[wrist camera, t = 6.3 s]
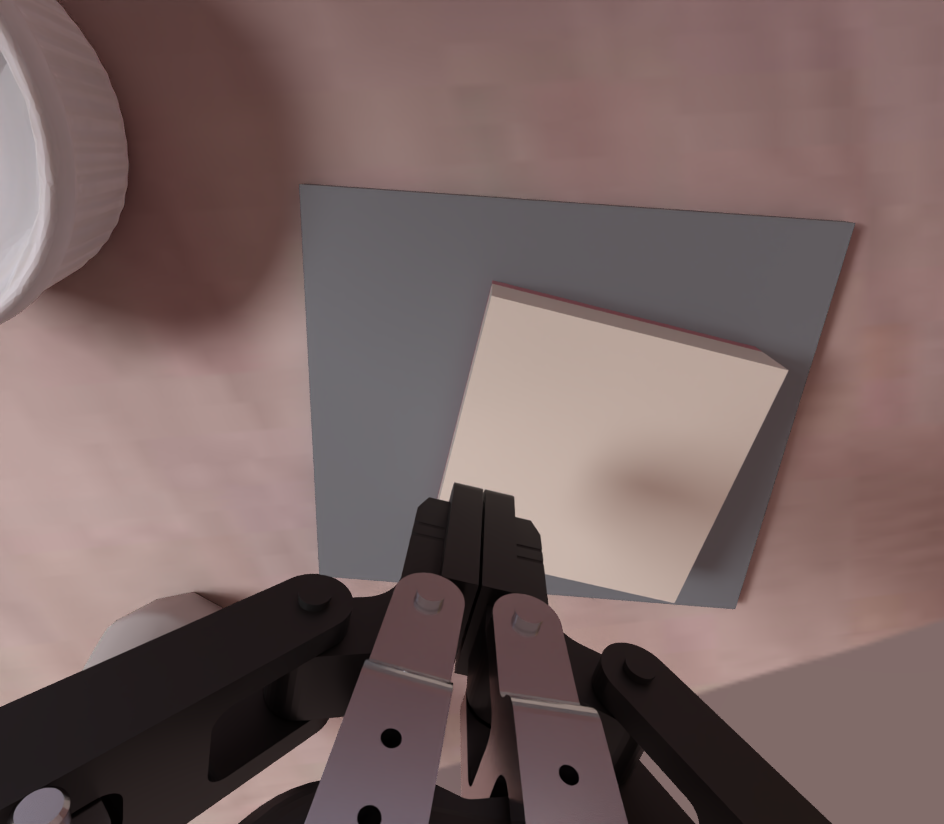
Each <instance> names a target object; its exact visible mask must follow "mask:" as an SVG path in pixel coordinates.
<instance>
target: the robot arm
mask: <svg viewBox="0 0 944 824" xmlns="http://www.w3.org/2000/svg"><path fill="white" fill-rule="evenodd" d="M455 660H456V664H455V673H457V674H462V675H467V689H466V692H465V695H464V698H463V701H462V704H461V709H460V732H461V797H460V796H458V795H456V794H454V793H452V792H450V791H448V790H446V789H444V788H442V787H440V786H438V785H436V779H437V774H438V768H439V763H440V757H441V751H442V746H443V740H444V735H445V729H446V724H447V718H448V712H449V707H450V701H451V696H452V689H453V683H451V677H452V672H453V666H454V663H455ZM334 717H344V718H343V721H342V724H341V726H340V729H339V732H338V734H337V737H336V740H335V742H334V745H333V748H332V751H331V753H330V756H329V759H328V761H327V764H326V767H325V769H324V772H323V775H322V777H321V780H320V781H316V782H311V783H308V784H305V785H302V786H299V787H296V788H293V789H291V790H288V791H286V792H284V793H282V794H280V795H278V796H276V797H274V798H273V799H271V800H270V801H268V802H266V803H265V804H263V805H261V806H260V807H259V808H257V809H256V810H255V811H253V812H252V813H251V814H250V815H248V816H247V817H246V818H245V819H243V820H242V821H241V822H240V823H238V824H695V823H694V822H693V821H692V820H691V818H690V817H689V816H688V815H687V814H686V813H685V812H684V810H683V809H682V808H681V807H680V806H679V805H678V804H677V802H676V801H675V800H674V799H673V798H672V797H671V796H670V795H669V793H668V792H667V791H666V790H665V789H664V788H663V787H662V785H661V784H660V783H659V782H658V781H657V780H656V779H655V777H654V776H653V775H652V774H651V773H650V772H649V771H648V769H647V768H646V767H645V766H644V765H643V764H642V763H641V762H640V760H639V759H640V757H641V756H642V754H643V752H644V751H645V752H646V753H647V754H648V755H649V756H650V757H651V759H652V760H653V761H654V762H655V763H656V764H657V765H658V766H659V767H660V768H661V770H662V771H663V772H664V773H665V774H666V775H667V776H668V777H669V779H671V781H672V782H673V783H674V784H675V785H676V786H677V788H678V789H679V790H680V791H681V792H682V793H683V794H684V795H685V796H686V797H687V799H688V800H689V801H690V802H691V804H692V805H693V807H694V809H695V811H696V813H697V816H698V819H699V824H832V823H831V822H830V821H828V820H827V819H826V818H825V817H824V816H823V815H822V814H821V813H820V812H819V811H818V810H817V809H816V808H815V807H814V806H813V805H812V804H811V803H810V802H809V801H808V800H806V799H805V798H804V797H803V796H802V795H801V794H800V793H799V792H798V791H797V790H796V789H795V788H794V787H793V786H792V785H791V784H789V782H788V781H787V780H785V779H784V778H783V777H782V776H781V775H780V774H779V773H778V772H777V771H776V770H775V769H774V768H773V767H772V766H771V765H770V764H769V763H768V762H767V761H765V760H764V759H763V758H762V757H761V756H760V755H759V754H758V753H757V752H756V751H755V750H754V749H753V748H752V747H751V746H750V745H749V744H748V743H747V742H745V741H744V740H743V739H742V738H741V737H740V736H739V735H738V734H737V733H736V732H735V731H734V730H733V729H732V728H731V727H730V726H728V725H727V724H726V723H725V722H724V721H723V720H722V719H721V718H720V717H719V716H718V715H717V714H716V713H715V712H714V711H713V710H712V709H711V708H710V707H709V706H708V705H707V704H705V703H704V702H703V701H702V700H701V699H700V698H699V697H698V696H697V695H696V694H695V693H694V692H693V691H692V690H691V689H690V688H689V687H688V686H687V685H686V684H684V683H683V682H682V681H681V680H680V679H679V678H678V677H677V676H676V675H675V674H674V673H673V672H672V671H671V670H670V669H669V668H668V667H667V666H666V665H664V664H663V663H662V662H661V661H660V660H659V659H658V658H657V657H656V656H654V655H653V654H652V653H650V652H649V651H647V650H645V649H643V648H641V647H639V646H636V645H633V644H629V643H614V644H611V645H609V646H607V647H606V648H605V649H604V651H603V653H602V654H600V653H598V652H596V651H594V650H591V649H589V648H587V647H585V646H583V645H581V644H579V643H577V642H576V641H574V640H572V639H571V638H569V637H568V636H567V635H566V634H564V633H563V629H562V625H561V622H560V619H559V617H558V616H557V614H556V613H555V611H554V610H553V609H552V608H551V607H550V606H548V597H547V588H546V579H545V570H544V564H543V553H542V544H541V535H540V533H539V532H538V530H537V529H536V527H535V526H534V524H533V523H532V521H531V520H527V519H522V518H518V517H515V500H514V496H512V495H508V494H504V493H499V492H495V491H491V490H487V489H485V490H484V492H483V489H482V488H478V487H473V486H469V485H465V484H460V483H456V482H454V484H453V488H452V491H451V495H450V499H449V502H448V501H444V500H439V499H435V498H431V497H429V498H428V499H426V500H425V501H424V502H423V503H422V504H421V505H420V506H418V508H417V512H416V516H415V521H414V525H413V529H412V533H411V537H410V541H409V546H408V550H407V554H406V558H405V562H404V567H403V571H402V575H401V578H400V580H399V582H398V583H397V585H396V586H395V587H394V588H392V589H391V590H389V591H388V592H386V593H383V594H380V595H377V596H372V597H354V598H352V595H351V592H350V591H349V589H348V588H347V587H346V586H345V585H344V584H343V583H342V582H340V581H338V580H337V579H335V578H332V577H330V576H326V575H321V574H305V575H300V576H296V577H293V578H291V579H289V580H286V581H284V582H282V583H280V584H277V585H275V586H273V587H271V588H268V589H266V590H264V591H262V592H259V593H257V594H255V595H252V596H250V597H248V598H246V599H243V600H241V601H239V602H237V603H234V604H232V605H230V606H228V607H225V608H223V609H221V610H219V611H216V612H214V613H212V614H210V615H207V616H205V617H203V618H200V619H198V620H196V621H194V622H191V623H189V624H187V625H185V626H182V627H180V628H178V629H176V630H173V631H171V632H169V633H167V634H164V635H162V636H160V637H158V638H155V639H153V640H151V641H148V642H146V643H144V644H142V645H139V646H137V647H135V648H133V649H130V650H128V651H126V652H124V653H121V654H119V655H117V656H115V657H112V658H110V659H108V660H106V661H103V662H101V663H99V664H96V665H94V666H92V667H90V668H87V669H85V670H83V671H81V672H78V673H76V674H74V675H72V676H69V677H67V678H65V679H63V680H60V681H58V682H56V683H54V684H51V685H49V686H47V687H44V688H42V689H40V690H38V691H35V692H33V693H31V694H29V695H26V696H24V697H22V698H20V699H17V700H15V701H13V702H11V703H8V704H6V705H4V706H1V707H0V824H187V823H188V822H190V821H191V820H193V819H194V818H195V817H197V816H198V815H200V814H201V813H203V812H204V811H205V810H207V809H208V808H210V807H211V806H213V805H214V804H215V803H217V802H218V801H220V800H221V799H222V798H224V797H225V796H227V795H228V794H230V793H231V792H232V791H234V790H235V789H237V788H238V787H240V786H241V785H242V784H244V783H245V782H247V781H248V780H250V779H251V778H252V777H254V776H255V775H257V774H258V773H260V772H261V771H262V770H264V769H265V768H267V767H268V766H270V765H271V764H272V763H274V762H275V761H277V760H278V759H280V758H281V757H282V756H284V755H285V754H287V753H288V752H290V751H291V750H292V749H294V748H295V747H297V746H298V745H300V744H301V743H302V742H304V741H305V740H307V739H308V738H309V737H311V736H312V735H314V734H315V733H317V732H318V731H319V730H320V729H322V728H323V726H324V725H325V724H326V723H327V721H328V719H329V718H334Z"/></svg>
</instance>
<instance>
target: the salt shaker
mask: <svg viewBox="0 0 944 824" xmlns="http://www.w3.org/2000/svg"><path fill="white" fill-rule="evenodd" d="M221 609H223V608H222V607H220V606H218V605H216V604H214V603H212V602H211V601H209V600H207V599H205V598H203V597H202V596H200V595H198V594H196V593H194V592H191V593H186V594H181V595H176V596H171V597H166V598H161V599H156V600H154V601H153V602H151V603H149V604H147V605H145V606H143V607H141V608H139V609H137V610H135V611H133V612H132V613H130V614H128V615H126V616H124V617H122V618H120V619H118V620H116V621H115V622H114V623H113V624H112V625H111V626H109V627H108V628H107V629H106V631H105V632H104V634H103V636H102V637H101V639H100V640H99V642H98V644H97V645H96V647H95V649H94V650H93V652H92V654H91V656H90V658H89V659H88V661H87V663H86V665H85V667H84V668H83V670H85V669H87V668H90V667H92V666H94V665H96V664H99V663H101V662H103V661H106V660H108V659H110V658H112V657H115V656H117V655H119V654H121V653H124V652H126V651H128V650H130V649H133V648H135V647H137V646H139V645H142V644H144V643H146V642H148V641H151V640H153V639H155V638H158V637H160V636H162V635H164V634H167V633H169V632H171V631H173V630H176V629H178V628H180V627H182V626H185V625H187V624H189V623H191V622H194V621H196V620H198V619H200V618H203V617H205V616H207V615H210V614H212V613H214V612H216V611H219V610H221ZM83 670H82V671H83Z"/></svg>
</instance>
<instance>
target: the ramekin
mask: <svg viewBox="0 0 944 824" xmlns="http://www.w3.org/2000/svg"><path fill="white" fill-rule="evenodd" d="M128 170H129V161H128V151H127V139H126V135H125V129H124V121H123V118H122V115H121V111H120V108H119V103H118V99H117V96H116V94H115V92H114V90H113V88H112V86H111V83H110V79H109V76H108V74H107V72H106V70H105V69H104V67H103V66H102V64H101V62H100V60H99V58H98V56H97V54H96V52H95V50H94V49H93V47H92V46H91V45H90V43H89V42H88V41H87V39H86V38H85V36H84V35H83V33H82V32H81V30H80V29H79V27H78V26H77V25H76V24H75V23H74V21H73V20H72V19H71V18H70V17H69V15H68V14H67V12H66V11H65V10H64V8H63V7H62V6H61V5H60V4H59V3H58V2H57V1H56V0H0V324H2V323H4V322H6V321H8V320H10V319H11V318H13V317H14V316H16V315H17V314H19V313H20V312H22V311H23V310H24V309H26V308H27V307H28V306H29V305H30V304H31V303H33V302H34V301H35V300H36V299H37V298H38V297H39V296H40V295H41V293H42V292H43V291H44V290H46V289H48V288H49V287H51V286H53V285H54V284H56V283H57V282H59V281H61V280H62V279H64V278H65V277H67V276H69V275H70V274H72V273H73V272H75V271H77V270H78V269H80V268H81V267H83V266H84V265H85V264H86V263H87V261H88V260H89V259H91V258H93V257H94V256H95V255H96V254H97V253H98V252H99V251H100V249H101V247H102V246H103V245H104V244H105V243H106V242H107V240H108V239H109V237H110V235H111V233H112V231H113V229H114V228H115V227H116V225H117V223H118V221H119V217H120V213H121V211H122V209H123V207H124V204H125V193H126V190H127V187H128Z"/></svg>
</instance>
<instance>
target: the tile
mask: <svg viewBox="0 0 944 824" xmlns="http://www.w3.org/2000/svg"><path fill="white" fill-rule="evenodd" d="M788 371H789V370H787V369H786V368H784V367H783V366H782V365H780V364H779V363H777V362H776V361H775V360H773V359H772V358H770V357H769V356H768V355H766V354H765V353H763V352H762V351H761V350H759V349H758V348H756V347H755V346H751V345H747V344H743V343H739V342H735V341H731V340H727V339H723V338H719V337H715V336H711V335H707V334H703V333H699V332H695V331H691V330H687V329H683V328H679V327H675V326H671V325H668V324H664V323H660V322H656V321H652V320H648V319H644V318H640V317H636V316H632V315H628V314H624V313H620V312H616V311H612V310H608V309H604V308H600V307H596V306H592V305H588V304H585V303H581V302H577V301H573V300H569V299H565V298H561V297H557V296H553V295H549V294H545V293H541V292H537V291H533V290H529V289H525V288H521V287H517V286H513V285H509V284H505V283H502V282H498V281H494V280H492V284H491V287H490V291H489V295H488V299H487V303H486V307H485V311H484V315H483V319H482V323H481V327H480V331H479V335H478V339H477V343H476V346H475V350H474V354H473V358H472V362H471V366H470V370H469V374H468V378H467V382H466V386H465V390H464V394H463V398H462V402H461V405H460V409H459V413H458V417H457V421H456V425H455V429H454V433H453V437H452V441H451V445H450V449H449V453H448V457H447V460H446V464H445V468H444V472H443V476H442V480H441V484H440V488H439V492H438V496H437V499H439V500H444V501H448V502H449V499H450V495H451V491H452V488H453V484H454V482H456V483H460V484H465V485H469V486H473V487H478V488H482V489H483V492H484V490H485V489H487V490H491V491H495V492H499V493H504V494H508V495H512V496H514V500H515V517H518V518H522V519H527V520H531V521H532V523H533V524H534V526H535V527H536V529H537V530H538V532H539V533H540V535H541V544H542V553H543V564H544V570H545V574H547V575H551V576H556V577H560V578H565V579H569V580H574V581H578V582H582V583H587V584H591V585H596V586H600V587H605V588H609V589H613V590H618V591H622V592H627V593H631V594H636V595H640V596H644V597H649V598H653V599H658V600H662V601H667V602H671V603H675V601H676V599H677V597H678V595H679V593H680V591H681V589H682V587H683V585H684V583H685V581H686V579H687V577H688V574H689V572H690V570H691V568H692V566H693V564H694V562H695V560H696V558H697V556H698V554H699V552H700V550H701V548H702V546H703V544H704V542H705V540H706V538H707V536H708V534H709V532H710V530H711V528H712V526H713V524H714V521H715V519H716V517H717V515H718V513H719V511H720V509H721V507H722V505H723V503H724V501H725V499H726V497H727V495H728V493H729V491H730V489H731V487H732V485H733V483H734V481H735V479H736V477H737V475H738V473H739V470H740V468H741V466H742V464H743V462H744V460H745V458H746V456H747V454H748V452H749V450H750V448H751V446H752V444H753V442H754V440H755V438H756V436H757V434H758V432H759V430H760V428H761V426H762V424H763V422H764V420H765V417H766V415H767V413H768V411H769V409H770V407H771V405H772V403H773V401H774V399H775V397H776V395H777V393H778V391H779V389H780V387H781V385H782V383H783V381H784V379H785V377H786V375H787V373H788Z"/></svg>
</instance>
